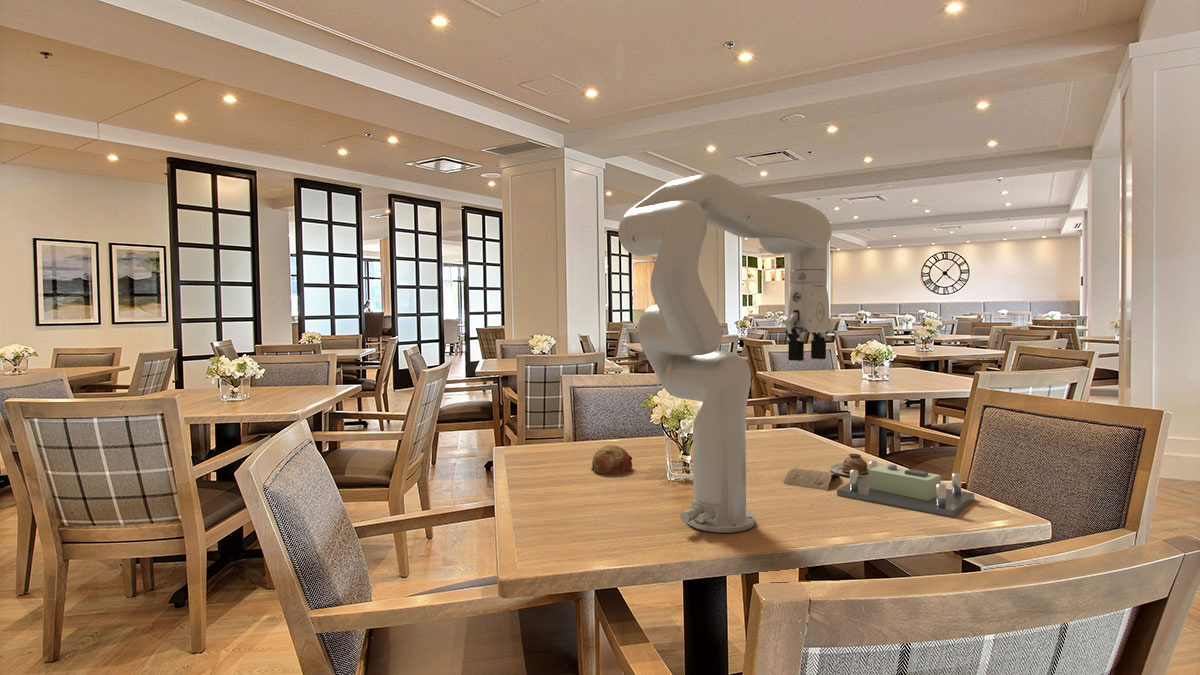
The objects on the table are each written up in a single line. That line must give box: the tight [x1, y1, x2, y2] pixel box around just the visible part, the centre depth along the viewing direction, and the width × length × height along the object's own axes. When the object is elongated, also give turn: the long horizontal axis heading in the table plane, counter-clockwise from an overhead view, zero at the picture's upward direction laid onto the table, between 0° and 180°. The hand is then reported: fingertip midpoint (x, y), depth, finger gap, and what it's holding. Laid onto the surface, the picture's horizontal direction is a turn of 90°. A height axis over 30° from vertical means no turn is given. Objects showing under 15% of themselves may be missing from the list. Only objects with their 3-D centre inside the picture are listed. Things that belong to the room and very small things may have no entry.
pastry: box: [828, 453, 869, 479], centre depth 150 cm, size 12×12×5 cm
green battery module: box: [867, 463, 942, 501], centre depth 130 cm, size 6×12×5 cm, turn 40°
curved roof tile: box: [783, 467, 841, 491], centre depth 144 cm, size 14×10×3 cm
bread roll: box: [590, 444, 633, 475], centre depth 157 cm, size 10×10×8 cm
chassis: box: [836, 460, 975, 518], centre depth 130 cm, size 15×22×5 cm
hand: (807, 359), depth 135 cm, fingers open, 9 cm apart
